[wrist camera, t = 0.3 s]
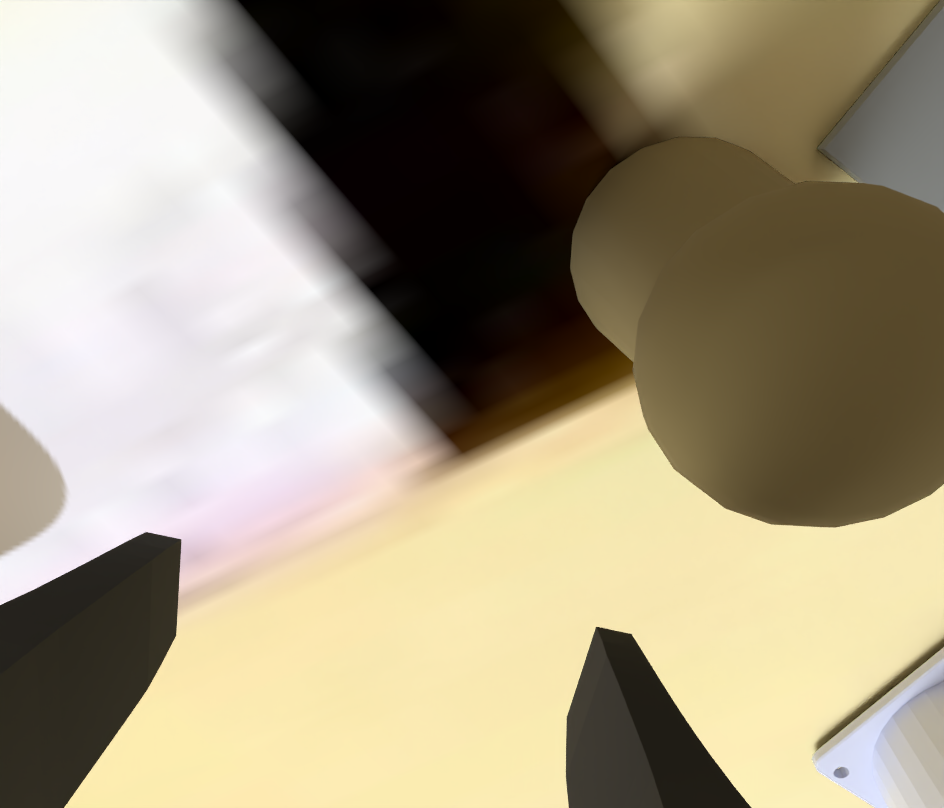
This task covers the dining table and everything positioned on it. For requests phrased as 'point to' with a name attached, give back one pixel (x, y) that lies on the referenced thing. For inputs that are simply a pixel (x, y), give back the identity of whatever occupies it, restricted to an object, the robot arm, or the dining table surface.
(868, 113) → the slate mat
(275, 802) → the dining table surface
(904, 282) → the cork
